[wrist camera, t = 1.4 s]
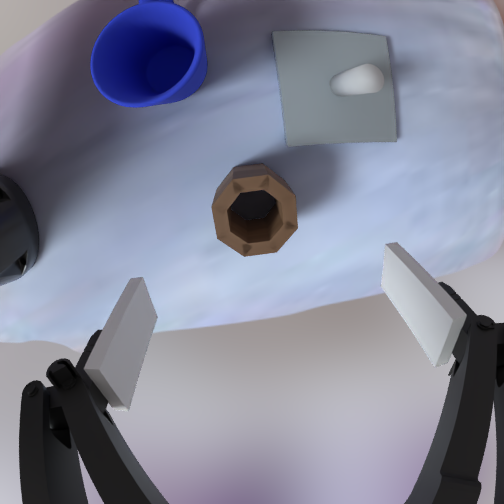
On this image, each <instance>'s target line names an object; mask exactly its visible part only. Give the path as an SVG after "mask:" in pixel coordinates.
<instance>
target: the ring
mask: <svg viewBox="0 0 504 504" xmlns="http://www.w3.org/2000/svg"><path fill="white" fill-rule="evenodd" d="M258 190H265V191H266V192H268V193H269V194H270V195H272V196H273V197H274V198H275V205H274V206H273V208H272V209H271V210H270V211H269V212H268V214H267V215H266V216H265V217H264V218H257V219H250V220H246V219H244V218H243V217H241V216H240V215H238V214H237V213H236V212H234V211H233V210H232V208H231V204H232V203H233V202H234V201H235V199H236V198H237V197H238V195H239V194H240V193H243V192H250V191H258ZM212 213H213V218H214V223H215V229H216V234H217V239H219V240H220V241H222V242H223V243H225V244H226V245H228V246H229V247H231V248H232V249H234V250H235V251H237V252H238V253H240V254H241V255H243V256H244V257H245V256H253V255H260V254H268V253H275V252H277V251H278V250H279V249H280V248H281V247H282V246H283V245H284V243H285V242H286V241H287V240H288V239H289V238H290V237H291V235H292V234H293V233H294V232H295V231H296V230H297V229H298V222H297V208H296V196H295V194H294V193H293V192H292V190H291V189H290V187H289V186H288V184H287V183H286V181H285V180H284V179H282V178H281V177H280V176H278V175H277V174H276V173H275V172H273V171H272V170H271V169H269V168H268V167H267V166H265V165H264V164H263V163H261V164H253V165H245V166H238V167H233V169H232V170H231V171H230V173H229V174H228V175H227V176H226V178H225V179H224V180H223V182H222V183H221V184H220V186H219V187H218V188H217V190H216V193H215V197H214V200H213V203H212Z"/></svg>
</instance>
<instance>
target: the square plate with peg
mask: <svg viewBox="0 0 504 504" xmlns="http://www.w3.org/2000/svg"><path fill="white" fill-rule="evenodd" d="M271 35H272V41H273V48H274V54H275V61H276V68H277V75H278V82H279V90H280V98H281V105H282V114H283V122H284V131H285V140H286V146H287V147H294V146H305V145H319V144H336V143H360V142H397V133H396V115H395V102H394V91H393V82H392V74H391V66H390V59H389V52H388V46H387V41H386V36H379V35H372V34H363V33H352V32H339V31H308V30H302V31H272V34H271Z"/></svg>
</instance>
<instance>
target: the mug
mask: <svg viewBox="0 0 504 504" xmlns="http://www.w3.org/2000/svg"><path fill="white" fill-rule="evenodd" d="M206 73H207V56H206V50H205V43H204V36H203V32H202V29H201V26H200V24H199V22H198V21H197V19H196V18H195V17H194V15H193V14H192V13H190V12H189V11H188V10H187V9H185V8H183V7H181V6H179V5H177V4H174V2H173V0H139V4H138V5H135V6H133V7H130V8H128V9H126V10H125V11H123V12H121V13H120V14H118V15H117V16H116V17H115V18H113V19H112V20H111V21H110V22H109V23H108V24H107V25H106V26H105V28H104V29H103V30H102V32H101V33H100V35H99V36H98V38H97V40H96V42H95V45H94V47H93V51H92V55H91V74H92V78H93V81H94V83H95V85H96V87H97V89H98V90H99V91H100V93H101V94H102V95H103V96H104V97H106V98H107V99H108V100H110V101H111V102H113V103H116V104H118V105H121V106H125V107H147V106H153V105H159V104H167V103H173V102H177V101H181V100H183V99H185V98H187V97H189V96H190V95H192V94H193V93H194V92H195V91H196V90H197V89H198V88H199V87H200V86H201V84H202V83H203V81H204V79H205V76H206Z"/></svg>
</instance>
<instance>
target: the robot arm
mask: <svg viewBox="0 0 504 504" xmlns="http://www.w3.org/2000/svg"><path fill="white" fill-rule="evenodd" d="M38 248H39V236H38V228H37V224H36V220H35V216H34V213H33V211H32V208H31V206H30V204H29V202H28V200H27V198H26V196H25V195H24V193H23V192H22V190H21V189H20V188H19V187H18V186H17V185H16V184H15V183H14V182H13V181H12V180H11V179H9V178H7V177H5V176H2V175H0V286H1V285H4V284H7V283H9V282H12V281H15V280H17V279H19V278H21V277H22V276H23V275H24V274H25V273H26V272H27V271H28V270H29V269H30V268H31V267H32V266H33V264H34V263H35V261H36V258H37V254H38ZM381 287H382V289H383V290H384V292H385V293H386V294H387V296H388V297H389V299H390V300H391V302H392V303H393V304H394V306H395V307H396V309H397V310H398V312H399V313H400V315H401V316H402V318H403V319H404V321H405V322H406V324H407V325H408V327H409V328H410V330H411V331H412V333H413V334H414V336H415V337H416V339H417V340H418V342H419V344H420V345H421V347H422V348H423V350H424V352H425V353H426V355H427V356H428V358H429V360H430V361H431V363H432V365H433V366H434V368H435V367H438V366H441V365H443V364H446V363H448V361H449V359H450V357H451V354H453V355H454V357H455V358H456V360H455V362H454V364H453V366H452V368H451V370H450V372H449V374H448V375H449V376H450V375H451V378H450V383H449V387H448V391H447V395H446V399H445V403H444V407H443V410H442V414H441V417H440V421H439V424H438V427H437V430H436V433H435V436H434V439H433V442H432V445H431V447H430V451H429V453H428V456H427V458H426V460H425V463H424V465H423V468H422V470H421V473H420V475H419V477H418V480H417V482H416V484H415V486H414V488H413V491H412V493H411V495H410V496H409V498H408V499H407V500H406V502H405V503H404V504H477V501H478V498H479V495H480V492H481V483H480V482H479V481H478V474H479V471H480V467H481V463H482V460H483V456H484V451H485V447H486V442H487V438H488V432H489V427H490V421H491V414H492V408H493V400H494V409H495V421H496V438H497V439H496V440H497V467H496V468H497V469H496V486H495V498H494V504H504V323H495V322H494V321H493V320H492V319H491V318H489V317H487V316H484V315H476V314H475V313H474V311H472V309H471V308H470V307H469V306H468V305H467V304H466V303H465V302H464V301H463V300H462V299H461V297H460V296H459V295H458V294H456V292H455V291H454V290H453V289H452V288H451V287H450V286H448V285H447V284H445V283H443V282H439V283H437V282H436V281H435V279H434V278H433V277H432V276H431V275H430V274H429V273H428V272H427V271H426V270H425V269H424V268H423V267H422V266H421V265H420V264H419V263H418V262H417V261H416V260H415V259H414V258H413V257H412V256H411V255H410V254H409V253H408V252H407V251H406V250H405V249H403V248H402V247H401V246H400V245H399V244H398V243H397V242H395V243H389V244H385V251H384V263H383V272H382V281H381ZM157 318H158V317H157V314H156V312H155V309H154V306H153V304H152V301H151V298H150V296H149V293H148V290H147V287H146V285H145V282H144V279H143V277H139V278H131V279H130V280H129V282H128V284H127V286H126V287H125V289H124V291H123V293H122V294H121V296H120V298H119V300H118V302H117V304H116V305H115V307H114V309H113V311H112V313H111V315H110V317H109V318H108V320H107V322H106V324H105V326H104V328H103V330H97V331H96V332H95V333H94V334H93V335H92V336H91V338H90V340H89V341H88V343H87V346H86V347H85V349H84V352H83V353H82V355H81V357H80V359H79V361H78V363H77V365H76V367H74V366H73V364H72V363H71V362H70V360H68V359H59V360H56V361H55V362H53V363H52V364H51V365H50V366H49V368H48V370H47V372H46V377H47V378H48V379H49V380H50V382H51V383H52V384H53V386H51V387H47V388H46V387H45V386H44V385H43V384H42V383H41V381H37V380H36V381H32V382H30V383H29V384H27V385H26V386H25V388H24V390H23V393H22V400H21V412H20V430H19V463H20V464H19V465H20V482H21V493H22V502H23V504H88V500H87V496H86V492H85V488H84V484H83V479H82V474H81V469H80V463H79V457H78V451H79V454H80V456H81V458H82V461H83V463H84V465H85V467H86V469H87V471H88V473H89V475H90V478H91V480H92V482H93V483H94V485H95V487H96V489H97V491H98V493H99V495H100V497H101V498H102V500H103V502H104V504H169V503H168V502H167V501H166V499H165V498H164V497H163V496H162V494H161V493H160V492H159V490H158V489H157V488H156V486H155V485H154V484H153V483H152V481H151V480H150V478H149V477H148V475H147V474H146V473H145V471H144V470H143V468H142V467H141V465H140V464H139V462H138V461H137V459H136V458H135V456H134V455H133V454H132V452H131V450H130V448H129V447H128V445H127V444H126V442H125V440H124V439H123V437H122V435H121V433H120V432H119V430H118V428H117V427H116V425H115V423H114V421H113V419H112V418H111V416H110V414H109V412H108V411H107V410H106V407H107V404H108V403H109V404H110V405H111V407H112V408H113V409H114V410H121V411H129V409H130V405H131V401H132V397H133V394H134V391H135V387H136V384H137V381H138V377H139V374H140V370H141V367H142V364H143V361H144V357H145V354H146V351H147V348H148V344H149V341H150V338H151V335H152V332H153V329H154V326H155V323H156V321H157ZM77 449H78V451H77Z"/></svg>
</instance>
